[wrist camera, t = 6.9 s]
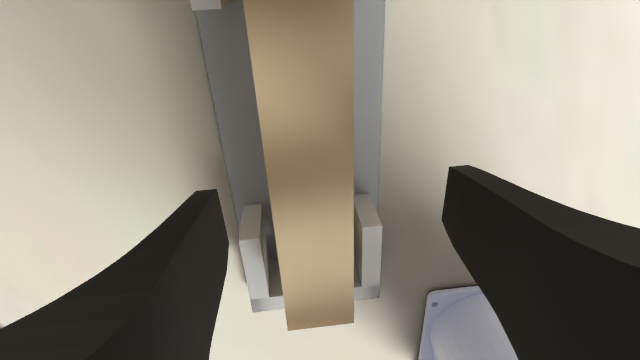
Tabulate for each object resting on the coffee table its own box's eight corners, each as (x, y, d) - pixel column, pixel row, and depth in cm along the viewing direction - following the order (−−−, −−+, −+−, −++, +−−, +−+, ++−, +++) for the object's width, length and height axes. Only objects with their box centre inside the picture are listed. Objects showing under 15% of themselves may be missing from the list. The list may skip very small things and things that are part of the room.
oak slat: (335, 239, 22) (353, 322, 17) (285, 244, 22) (288, 330, 17) (324, -92, 14) (353, -129, 9) (244, -89, 14) (226, -124, 9)
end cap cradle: (371, 274, 25) (386, 320, 21) (252, 287, 24) (248, 337, 21) (388, -235, 13) (427, -305, 9) (152, -231, 12) (107, -304, 9)
